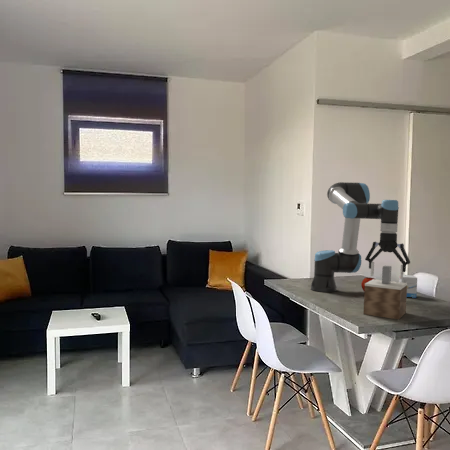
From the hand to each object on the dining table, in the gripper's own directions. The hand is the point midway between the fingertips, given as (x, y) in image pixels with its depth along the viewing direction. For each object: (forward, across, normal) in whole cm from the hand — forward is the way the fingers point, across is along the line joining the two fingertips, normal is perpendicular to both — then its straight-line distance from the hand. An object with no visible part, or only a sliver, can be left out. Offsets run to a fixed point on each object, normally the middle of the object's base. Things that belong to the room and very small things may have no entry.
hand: (386, 277), depth 222 cm
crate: (+17, 0, 0) cm, 17 cm away
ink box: (+18, +1, +52) cm, 55 cm away
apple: (+17, -17, +38) cm, 45 cm away
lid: (+4, 0, 0) cm, 4 cm away
